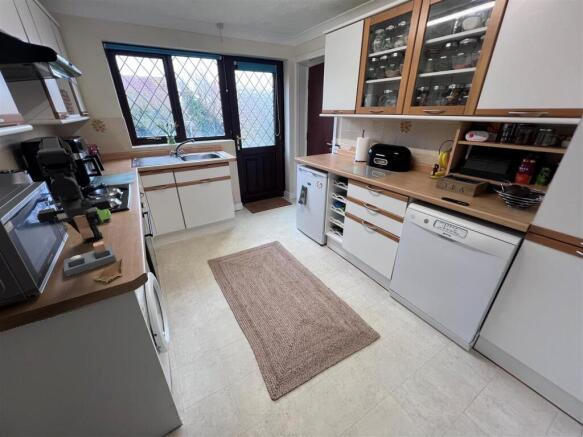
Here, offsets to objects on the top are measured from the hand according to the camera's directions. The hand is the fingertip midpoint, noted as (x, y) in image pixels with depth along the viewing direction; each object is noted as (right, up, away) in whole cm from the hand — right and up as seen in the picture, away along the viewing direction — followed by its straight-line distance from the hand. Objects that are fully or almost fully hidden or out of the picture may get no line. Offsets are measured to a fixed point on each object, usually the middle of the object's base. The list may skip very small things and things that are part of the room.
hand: (86, 231), depth 85 cm
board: (0, -12, +3) cm, 12 cm away
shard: (+10, -15, -2) cm, 18 cm away
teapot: (-24, +4, +36) cm, 44 cm away
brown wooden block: (0, -2, +1) cm, 2 cm away
